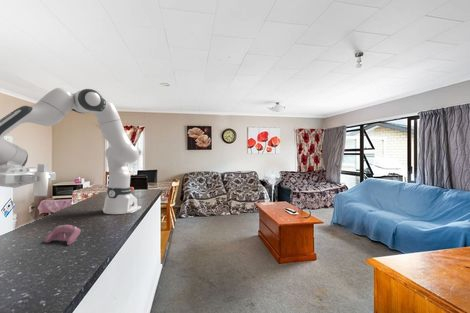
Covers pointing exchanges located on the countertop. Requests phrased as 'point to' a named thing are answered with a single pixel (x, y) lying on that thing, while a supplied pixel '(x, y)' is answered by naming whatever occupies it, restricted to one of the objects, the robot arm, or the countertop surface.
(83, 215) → the countertop surface
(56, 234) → the video game controller
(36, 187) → the white bottle
